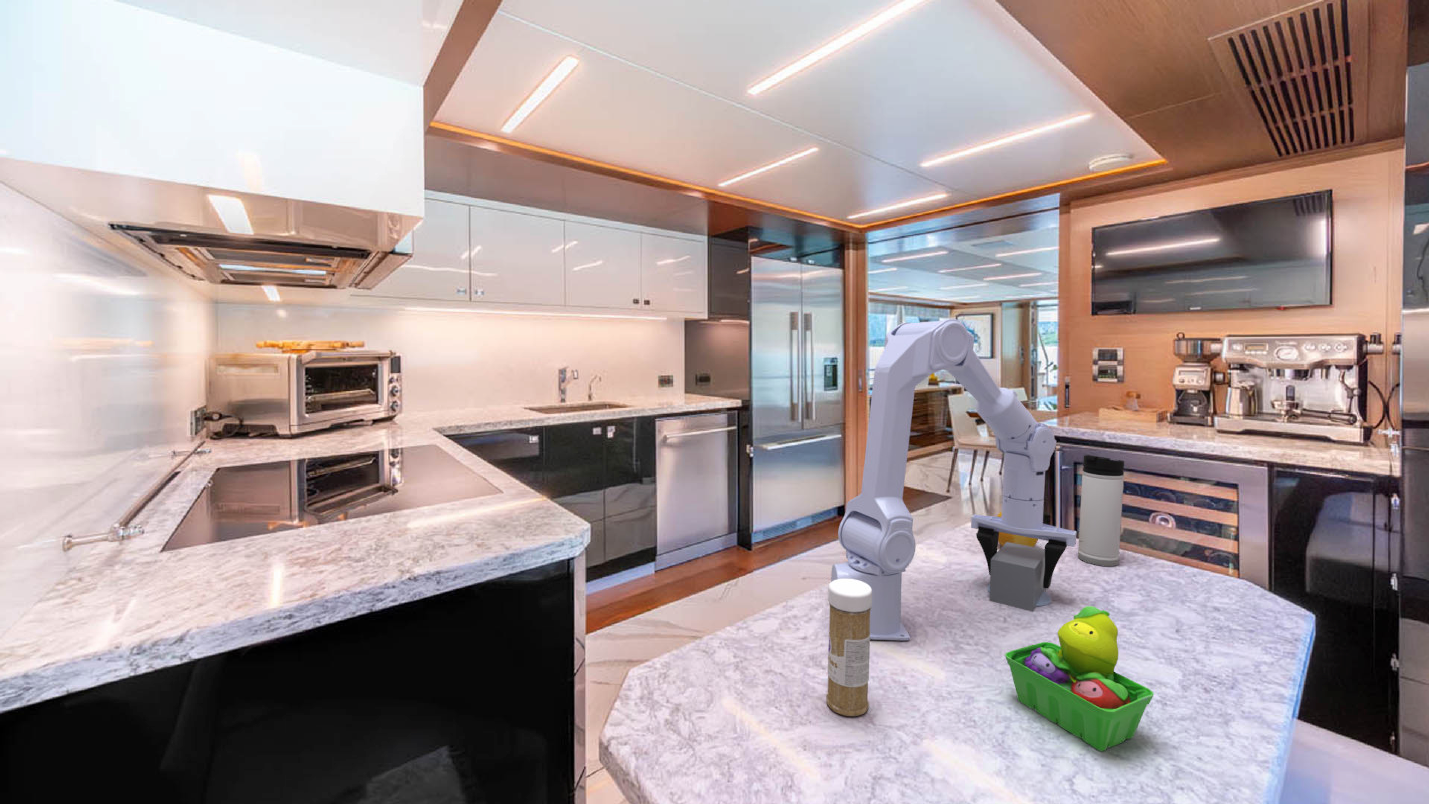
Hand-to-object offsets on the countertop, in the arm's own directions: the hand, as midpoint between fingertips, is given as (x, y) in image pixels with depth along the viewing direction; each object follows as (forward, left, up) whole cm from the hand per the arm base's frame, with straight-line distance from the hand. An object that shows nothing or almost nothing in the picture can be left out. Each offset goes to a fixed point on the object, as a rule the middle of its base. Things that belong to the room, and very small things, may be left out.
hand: (1019, 580), depth 88 cm
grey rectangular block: (0, 0, -2) cm, 2 cm away
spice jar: (-33, -30, -2) cm, 45 cm away
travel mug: (+22, +16, -2) cm, 27 cm away
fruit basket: (-9, -31, -3) cm, 32 cm away
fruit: (+10, +22, -3) cm, 24 cm away
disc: (0, 0, -2) cm, 2 cm away
